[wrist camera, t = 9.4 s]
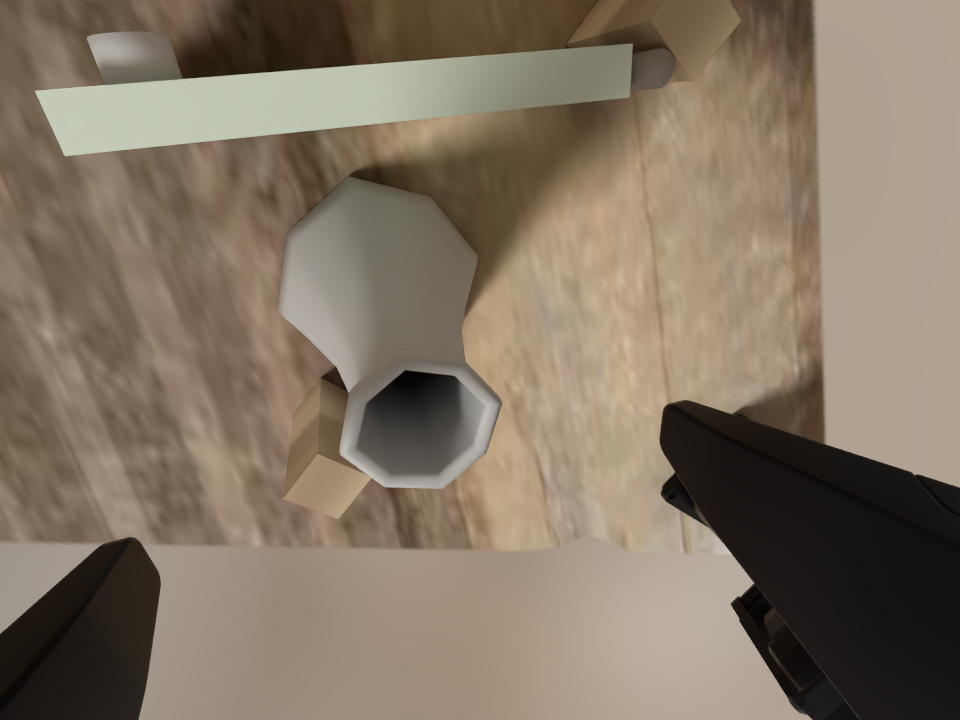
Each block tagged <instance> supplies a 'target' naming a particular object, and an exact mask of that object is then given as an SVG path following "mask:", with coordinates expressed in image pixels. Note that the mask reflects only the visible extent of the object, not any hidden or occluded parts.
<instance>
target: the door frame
mask: <svg viewBox="0 0 960 720" xmlns="http://www.w3.org/2000/svg"><path fill="white" fill-rule="evenodd" d="M740 22H741V19H740V17H739V15H738V14H737V12H736V10H735V9H734V7H733V5H732V4H731V2H730V0H598V2H597V3H596V4H595V6H594V7H593V8H592V10H591V11H590V13H589V14H588V15H587V17H586V18H585V19H584V21H583V22H582V23H581V25H580V26H579V27H578V29H577V30H576V32H575V33H574V34H573V36H572V37H571V38H570V40H569V41H568V42H567V44H566V45H567V46H568V47H569V48H583V47H595V46H608V45H620V44H633V50H632V68H631V85H630V90H642V89H656V88H661V87H663V86H664V85H666V84H667V83H672V82H684V81H693V80H694V79H695V77H696V76H697V75H698V74H699V72H700V71H701V70H702V69H703V67H704V66H705V65H706V64H707V62H708V61H709V60H710V59H711V58H712V56H713V55H714V54H715V53H716V51H717V50H718V49H719V48H720V46H721V45H722V44H723V43H724V41H725V40H726V39H727V38H728V37H729V35H730V34H731V33H732V32H733V30H734V29H735V28H736V27H737V25H738V24H739V23H740ZM348 397H349V392H347V391H346V390H344V389H342V388H340V387H338V386H336V385H334V384H332V383H330V382H328V381H326V380H324V379H322V378H320V379H319V381H318V382H317V383H316V385H315V386H314V388H313V389H312V390H311V392H310V393H309V394H308V396H307V397H306V398H305V400H304V401H303V403H302V404H301V405H300V407H299V408H298V409H297V411H296V412H295V413H294V416H293V424H292V432H291V440H290V448H289V456H288V464H287V473H286V481H285V489H284V497H283V499H285V500H288V501H290V502H293V503H296V504H299V505H301V506H304V507H307V508H309V509H312V510H315V511H318V512H320V513H323V514H326V515H329V516H331V517H334V518H337V519H339V517H340V516H341V515H342V514H343V512H344V511H345V510H346V509H347V507H348V506H349V505H350V504H351V503H352V501H353V500H354V499H355V498H356V496H357V495H358V494H359V493H360V491H361V490H362V489H363V488H364V486H365V485H366V484H367V483H368V482H369V480H370V479H371V477H370V476H369V475H367V474H366V473H364V472H363V471H362V470H360V469H359V468H357V467H356V466H355V465H353V464H352V463H351V462H349V461H348V460H346V459H345V458H344V457H342V456H341V455H340V450H339V448H340V442H341V436H342V431H343V425H344V420H345V414H346V408H347V403H348Z"/></svg>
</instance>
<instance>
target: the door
mask: <svg viewBox="0 0 960 720" xmlns="http://www.w3.org/2000/svg"><path fill="white" fill-rule="evenodd" d="M87 40H88V43H89V45H90V48H91V50H92V53H93V55H94V58H95V60H96V63H97V65H98V68H99V70H100V73H101V75H102V78H103V80H104V83H105V85H102V86H89V87H77V88H64V89H52V90H39V91H35V92H36V94H37V97H38V99H39V101H40V103H41V105H42V107H43V110H44V112H45V114H46V116H47V118H48V120H49V123H50V125H51V127H52V129H53V131H54V133H55V136H56V138H57V140H58V142H59V144H60V146H61V149H62V151H63V153H64V155H65V156H70V155H79V154H89V153H99V152H108V151H118V150H128V149H137V148H147V147H157V146H166V145H176V144H186V143H195V142H205V141H215V140H224V139H234V138H244V137H253V136H263V135H273V134H282V133H292V132H302V131H312V130H321V129H331V128H341V127H350V126H360V125H370V124H379V123H389V122H399V121H408V120H418V119H428V118H437V117H447V116H457V115H466V114H476V113H486V112H495V111H505V110H515V109H525V108H534V107H544V106H554V105H563V104H573V103H583V102H592V101H602V100H612V99H621V98H630V85H631V68H632V50H633V44H620V45H608V46H595V47H583V48H570V49H557V50H545V51H532V52H519V53H507V54H494V55H481V56H469V57H456V58H443V59H431V60H418V61H406V62H393V63H380V64H368V65H355V66H342V67H330V68H317V69H304V70H292V71H279V72H266V73H254V74H241V75H229V76H216V77H203V78H191V79H183V78H182V75H181V72H180V69H179V66H178V63H177V60H176V57H175V54H174V51H173V48H172V45H171V42H170V39H169V36H168V35H166V34H162V33H153V32H114V33H103V34H96V35H91V36H88V37H87Z"/></svg>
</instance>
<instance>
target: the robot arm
mask: <svg viewBox="0 0 960 720" xmlns="http://www.w3.org/2000/svg"><path fill="white" fill-rule="evenodd" d="M660 445H661V449H662V451H663V453H664V455H665V456H666V458H667V459H668V461H669V463H670V464H671V466H672V467H673V469H674V471H675V472H676V474H677V475H676V476H675V477H674V478H673V479H672V480H671V481H670V482H669V483H668V484H667V485H666V486H665V487H664V488H663V490H662V491H661V496H662V497H663V498H664V500H665V501H666V502H668V503H669V504H671V505H672V506H674V507H676V508H677V509H679V510H681V511H682V512H684V513H686V514H687V515H689V516H691V517H692V518H694V519H696V520H697V521H699V522H700V523H702V524H704V525H705V526H707V527H709V528H710V529H711V530H712V531H713V532H714V533H715V535H716V536H717V537H718V538H719V539H720V540H721V541H722V542H723V543H724V544H725V546H726V547H727V548H728V550H729V551H730V552H731V553H732V555H733V556H734V557H735V559H736V560H737V561H738V562H739V564H740V565H741V566H742V568H743V569H744V570H745V572H746V573H747V574H748V575H749V577H750V578H751V579H752V581H753V582H754V584H753V585H752V586H751V587H750V588H749V589H748V590H747V591H746V592H745V593H744V594H743V595H742V596H741V597H737V598H736V599H735V600H734V601H733V602H732V603H731V606H732V607H733V609H734V610H735V612H736V614H737V615H738V617H739V618H740V619H739V621H740V623H741V624H742V626H743V628H744V629H745V631H746V632H747V634H748V635H749V637H750V639H751V640H752V642H753V643H754V645H755V647H756V648H757V650H758V651H759V653H760V655H761V656H762V658H763V659H764V661H765V662H766V664H767V666H768V667H769V669H770V671H771V672H772V674H773V675H774V677H775V678H776V680H777V682H778V683H779V685H780V686H781V688H782V690H783V691H784V692H785V694H786V695H787V698H788V700H789V702H790V703H791V705H792V706H793V707H794V708H795V709H796V710H797V711H798V712H799V713H802V714H805V715H808V716H809V717H810V718H811V719H813V720H960V488H959V487H956V486H953V485H949V484H946V483H943V482H940V481H937V480H934V479H931V478H928V477H925V476H922V475H914V474H913V473H911V472H909V471H906V470H903V469H900V468H897V467H893V466H890V465H887V464H884V463H881V462H878V461H875V460H871V459H869V458H866V457H863V456H859V455H856V454H853V453H850V452H847V451H844V450H841V449H838V448H834V447H832V446H828V445H825V444H822V443H819V442H816V441H813V440H810V439H807V438H804V437H801V436H797V435H794V434H791V433H788V432H785V431H782V430H779V429H776V428H773V427H770V426H766V425H763V424H760V423H757V422H754V421H751V420H749V419H748V418H747V417H746V416H744V415H742V414H738V415H732V414H729V413H726V412H723V411H720V410H717V409H714V408H711V407H708V406H705V405H701V404H698V403H695V402H692V401H689V400H682V401H678V402H674V403H670V404H667V405H666V406H665V407H664V409H663V415H662V423H661V431H660ZM160 583H161V582H160V576H159V573H158V570H157V569H156V567H155V565H154V564H153V562H152V560H151V559H150V557H149V555H148V554H147V552H146V551H145V549H144V547H143V546H142V544H141V543H140V541H139V540H137V539H136V538H133V537H128V538H124V539H120V540H116V541H112V542H108V543H105V544H103V545H101V546H100V547H98V548H97V549H96V550H95V551H94V552H93V553H91V554H90V555H89V556H88V557H87V558H86V559H85V560H83V561H82V562H81V563H80V564H79V565H78V566H77V567H76V568H74V569H73V570H72V571H71V572H70V573H69V574H68V575H67V576H65V577H64V578H63V579H62V580H61V581H60V582H59V583H57V584H56V585H55V586H54V587H53V588H52V589H51V590H50V591H48V592H47V593H46V594H45V595H44V596H43V597H42V598H40V599H39V600H38V601H37V602H36V603H35V604H34V605H33V606H31V607H30V608H29V609H28V610H27V611H26V612H25V613H24V614H22V615H21V616H20V617H19V618H18V619H17V620H16V621H14V622H13V623H12V624H11V625H10V626H9V627H8V628H7V629H6V630H4V631H3V632H2V633H1V634H0V720H138V719H139V715H140V711H141V707H142V702H143V698H144V693H145V689H146V683H147V678H148V672H149V665H150V658H151V651H152V644H153V637H154V629H155V623H156V614H157V608H158V601H159V594H160V586H161V584H160Z"/></svg>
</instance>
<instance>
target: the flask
mask: <svg viewBox="0 0 960 720" xmlns="http://www.w3.org/2000/svg"><path fill="white" fill-rule="evenodd" d="M477 261H478V255H477V254H476V253H475V251H474V250H473V249H472V248H471V246H470V245H469V244H468V243H467V241H466V240H465V239H464V238H463V236H462V235H461V234H460V233H459V231H458V230H457V229H456V228H455V226H454V225H453V224H452V223H451V221H450V220H449V219H448V218H447V216H446V215H445V214H444V213H443V211H442V210H441V209H440V208H439V206H438V205H437V204H436V203H435V201H434V200H433V199H432V198H431V197H430V196H426V195H422V194H418V193H414V192H410V191H405V190H401V189H397V188H393V187H389V186H385V185H381V184H377V183H373V182H369V181H365V180H361V179H357V178H353V177H349V176H348V177H347V178H346V179H345V180H344V181H343V182H342V183H341V184H339V185H338V186H337V187H336V188H335V189H334V190H333V191H332V192H331V193H330V194H329V195H327V196H326V197H325V198H324V199H323V200H322V201H321V202H320V203H319V204H318V205H317V206H315V207H314V208H313V209H312V210H311V211H310V212H309V213H308V214H307V215H306V216H305V217H303V218H302V219H301V220H300V221H299V222H298V223H297V224H296V225H295V226H294V227H293V228H291V229H290V230H289V231H288V232H287V233H286V241H285V250H284V260H283V269H282V279H281V288H280V298H279V307H278V312H279V313H280V314H281V315H282V316H283V317H284V318H285V319H287V320H288V321H289V322H290V323H291V324H292V325H293V326H295V327H296V328H297V329H298V330H299V331H300V332H302V333H303V334H304V335H305V336H306V337H307V338H308V339H309V340H310V341H311V342H312V343H313V344H314V345H315V346H316V347H317V348H318V349H319V350H320V351H321V352H322V353H323V354H324V355H325V356H326V357H327V358H328V359H329V360H330V361H331V362H332V363H333V364H334V365H335V366H336V367H337V369H338V371H339V373H340V375H341V377H342V380H343V382H344V384H345V386H346V388H347V390H348V392H349V397H348V403H347V408H346V414H345V420H344V425H343V431H342V436H341V442H340V448H339V450H340V455H341V456H342V457H344V458H345V459H346V460H348V461H349V462H351V463H352V464H353V465H355V466H356V467H357V468H359V469H360V470H362V471H363V472H364V473H366V474H367V475H369V476H370V477H371V478H373V479H374V480H375V481H377V482H378V483H380V484H381V485H382V486H384V487H400V488H435V489H443V488H444V487H445V486H446V485H447V484H449V483H450V482H451V481H452V480H454V479H455V478H456V477H457V476H459V475H460V474H461V473H462V472H463V471H465V470H466V469H467V468H468V467H470V466H471V465H472V464H473V463H474V462H476V461H477V460H478V459H479V458H481V457H482V456H483V455H484V454H486V452H487V449H488V446H489V443H490V440H491V437H492V434H493V431H494V427H495V424H496V421H497V418H498V415H499V412H500V409H501V406H502V401H501V399H500V397H499V396H498V395H497V394H496V393H495V392H494V391H493V390H492V389H491V388H490V386H489V385H488V384H487V383H486V382H485V381H484V380H483V379H482V378H481V377H480V376H479V375H478V374H477V373H476V372H475V371H474V370H473V369H472V368H471V367H470V366H469V365H468V364H467V363H466V362H465V354H464V346H463V339H462V331H461V330H462V325H463V320H464V315H465V310H466V305H467V300H468V296H469V293H470V289H471V285H472V281H473V277H474V274H475V270H476V266H477Z"/></svg>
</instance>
